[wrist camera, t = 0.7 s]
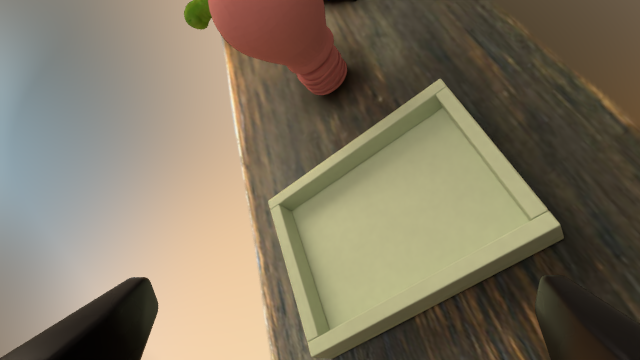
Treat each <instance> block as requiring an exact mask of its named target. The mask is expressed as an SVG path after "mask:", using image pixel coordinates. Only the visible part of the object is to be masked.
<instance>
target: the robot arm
mask: <svg viewBox="0 0 640 360" xmlns="http://www.w3.org/2000/svg"><path fill="white" fill-rule="evenodd" d="M157 312H158V301H157V298H156V296H155V293H154V290H153V288H152V285H151V282H150V281H149V279H148V278H145V277H136V278H135V277H133V278H129V279H127V280H126V281H124V282H122V283H121V284H119V285H118V286H116V287H114V288H113V289H111V290H109V291H108V292H106V293H105V294H103V295H101V296H100V297H98V298H97V299H95V300H93V301H92V302H90V303H88V304H87V305H85V306H84V307H82V308H80V309H79V310H77V311H76V312H74V313H72V314H71V315H69V316H67V317H66V318H64V319H63V320H61V321H59V322H58V323H56V324H54V325H53V326H51V327H50V328H48V329H46V330H45V331H43V332H42V333H40V334H38V335H37V336H35V337H33V338H32V339H30V340H29V341H27V342H25V343H24V344H22V345H20V346H19V347H17V348H16V349H14V350H12V351H11V352H9V353H8V354H6V355H4V356H3V357H1V358H0V360H141V357H142V354H143V351H144V348H145V346H146V343H147V340H148V337H149V335H150V332H151V329H152V326H153V324H154V321H155V318H156V315H157ZM535 312H536V316H537V319H538V322H539V325H540V328H541V331H542V334H543V337H544V340H545V343H546V346H547V349H548V352H549V355H550V358H551V360H640V324H638V323H637V322H635V321H634V320H632V319H631V318H629V317H627V316H626V315H624V314H623V313H621V312H620V311H618V310H617V309H615V308H614V307H612V306H610V305H609V304H607V303H606V302H604V301H603V300H601V299H600V298H598V297H597V296H595V295H593V294H592V293H590V292H589V291H587V290H586V289H584V288H583V287H581V286H579V285H578V284H576V283H575V282H573V281H572V280H570V279H569V278H567V277H565V276H562V275H545V276H543V277H542V278H541V279H540V283H539V288H538V292H537V297H536V302H535Z"/></svg>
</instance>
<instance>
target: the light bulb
mask: <svg viewBox="0 0 640 360" xmlns="http://www.w3.org/2000/svg"><path fill="white" fill-rule="evenodd" d="M208 4H209V10H210V13H211V16H212V19H213V22H214V23H215V25H216V27H217V29H218V31H219V32H220V34H221V35H222V36H223V38H224V39H225V40H226V41H227V42H228V43H229V44H230V45H231V46H233V47H234V48H235V49H236V50H238V51H240V52H241V53H243V54H245V55H247V56H250V57H253V58H257V59H260V60H263V61H267V62H271V63H276V64H282V65H286V66H287V67H288V68H289V70H290V71H292V72H293V73H296V74H297V77H298V79H299V80H300V81H301V82H302V84H303V85H305V86H306V87H307V89H308V90H310V91H311V92H312V93H314V94H316V95H326V94H329V93H331V92H333V91H334V90H336V89H337V88H338V87H339V86H340V85H341V84H342V82H343V81H344V79H345V76H346V73H347V65H346V62H345V61H344V60H343V59H342V57H341V54H340V53H339V51H338V50H337V48H336V47H335V46H334V45H333V44H334V39H333V34H332V32H331V30H330V29H329V28H328V27H327V26H326V19H325V9H324V2H323V0H208Z"/></svg>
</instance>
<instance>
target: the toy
mask: <svg viewBox="0 0 640 360" xmlns="http://www.w3.org/2000/svg"><path fill="white" fill-rule="evenodd" d="M184 17H185V20H186V22H187V23H188V24H189V25H190V26H192V27H193V28H196V29H205V28H207V26H208V23H209V21H210V19H211V18H212V16H211V13H210V10H209V4H208V0H193V1H191V2H189V3H188V5H187V6H186V8H185V11H184Z"/></svg>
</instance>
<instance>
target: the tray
mask: <svg viewBox="0 0 640 360" xmlns="http://www.w3.org/2000/svg"><path fill="white" fill-rule="evenodd" d="M268 203H269V207H270V210H271V214H272V217H273V221H274V224H275V228H276V232H277V235H278V239H279V242H280V246H281V250H282V253H283V257H284V260H285V264H286V267H287V271H288V275H289V278H290V282H291V285H292V289H293V292H294V296H295V300H296V303H297V307H298V310H299V314H300V318H301V321H302V325H303V328H304V332H305V335H306V339H307V342H308V347H309V350H310V354H311V357H315V358H328V359H333V358H334V357H336V356H338V355H340V354H342V353H344V352H346V351H348V350H350V349H352V348H354V347H356V346H358V345H360V344H361V343H363V342H365V341H367V340H369V339H371V338H373V337H375V336H377V335H379V334H381V333H383V332H385V331H387V330H388V329H390V328H392V327H394V326H396V325H398V324H400V323H402V322H404V321H406V320H408V319H410V318H412V317H413V316H415V315H417V314H419V313H421V312H423V311H425V310H427V309H429V308H431V307H433V306H435V305H437V304H439V303H440V302H442V301H444V300H446V299H448V298H450V297H452V296H454V295H456V294H458V293H460V292H462V291H464V290H466V289H467V288H469V287H471V286H473V285H475V284H477V283H479V282H481V281H483V280H485V279H487V278H489V277H491V276H492V275H494V274H496V273H498V272H500V271H502V270H504V269H506V268H508V267H510V266H512V265H514V264H516V263H518V262H519V261H521V260H523V259H525V258H527V257H529V256H531V255H533V254H535V253H537V252H539V251H541V250H543V249H545V248H546V247H548V246H550V245H552V244H554V243H556V242H558V241H560V240H562V239H563V238H564V236H563V233H562V229H561V225H560V223H559V222H558V221H557V220H556V218H555V217H554V216H553V215H552V214H551V212H549V211H548V209H547V207H546V206H545V205H544V204H543V203H542V201H541V200H540V199H539V198H538V197H537V195H536V194H535V193H534V192H533V190H532V189H531V188H530V187H529V186H528V184H527V183H526V182H525V181H524V179H523V178H522V177H521V176H520V175H519V173H518V172H517V171H516V170H515V169H514V167H513V166H512V165H511V164H510V162H509V161H508V160H507V159H506V158H505V156H504V155H503V154H502V153H501V151H500V150H499V149H498V148H497V147H496V145H495V144H494V143H493V142H492V141H491V139H490V138H489V137H488V136H487V134H486V133H485V132H484V131H483V130H482V128H481V127H480V126H479V125H478V123H477V122H476V121H475V120H474V119H473V117H472V116H471V115H470V114H469V112H468V111H467V110H466V109H465V108H464V106H463V105H462V104H461V103H460V102H459V100H458V99H457V98H456V97H455V95H454V94H453V93H452V92H451V91H450V89H449V88H448V87H447V86H446V84H445V83H444V82H443V81H442V80H441V79H439V80H437V81H436V82H435V83H433V84H432V85H430V86H429V87H428V88H426V89H425V90H423V91H422V92H421V93H419V94H418V95H416V96H415V97H413V98H412V99H411V100H409V101H408V102H406V103H405V104H404V105H402V106H401V107H399V108H398V109H397V110H395V111H394V112H392V113H391V114H390V115H388V116H387V117H385V118H384V119H383V120H381V121H380V122H378V123H377V124H376V125H374V126H373V127H371V128H370V129H369V130H367V131H366V132H364V133H363V134H362V135H360V136H359V137H357V138H356V139H355V140H353V141H352V142H350V143H349V144H348V145H346V146H345V147H343V148H342V149H340V150H339V151H338V152H336V153H335V154H333V155H332V156H331V157H329V158H328V159H326V160H325V161H324V162H322V163H321V164H319V165H318V166H317V167H315V168H314V169H312V170H311V171H310V172H308V173H307V174H305V175H304V176H303V177H301V178H300V179H298V180H297V181H296V182H294V183H293V184H291V185H290V186H289V187H287V188H286V189H284V190H283V191H282V192H280V193H279V194H277V195H276V196H275V197H273V198H272V199H270V200H269V201H268Z"/></svg>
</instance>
